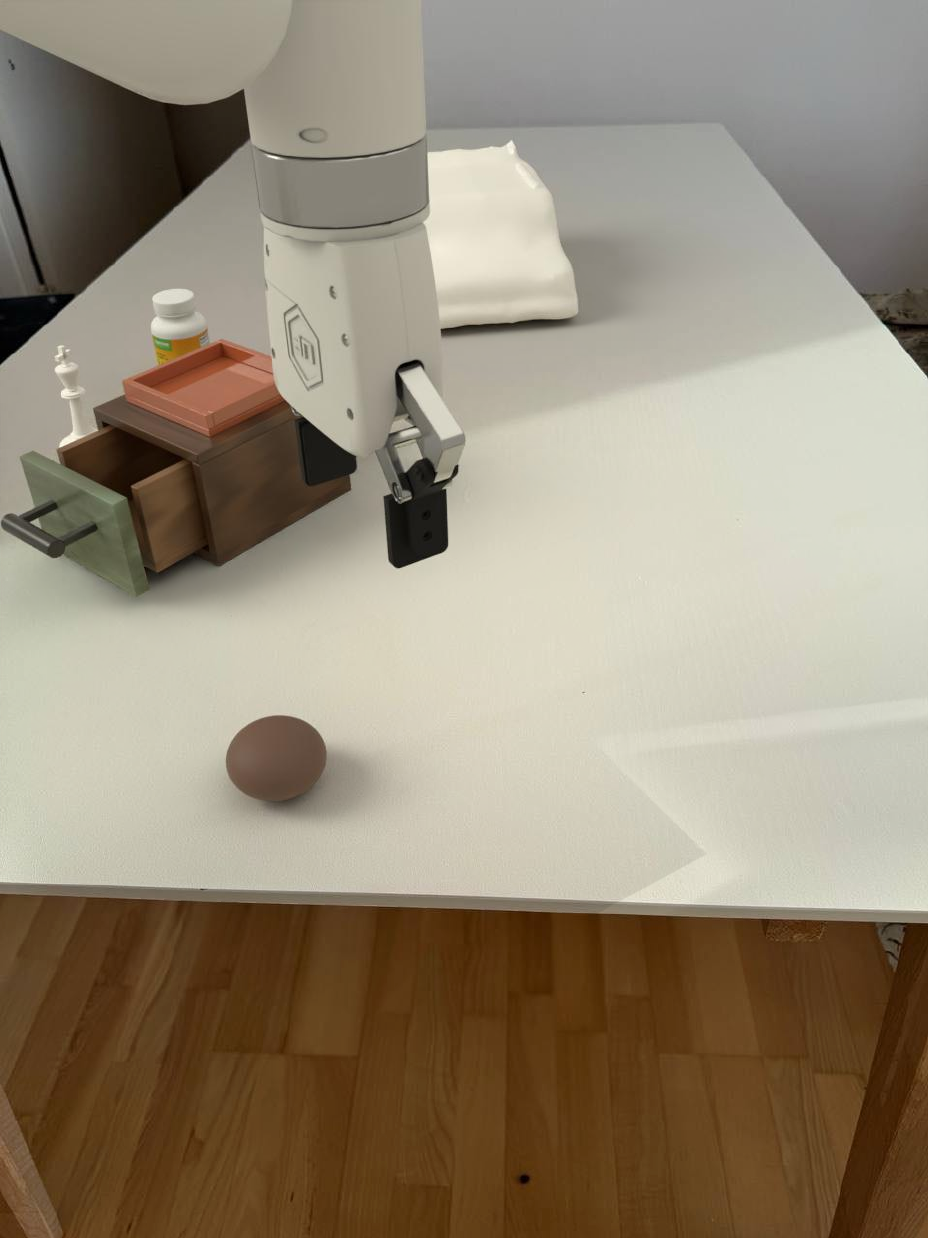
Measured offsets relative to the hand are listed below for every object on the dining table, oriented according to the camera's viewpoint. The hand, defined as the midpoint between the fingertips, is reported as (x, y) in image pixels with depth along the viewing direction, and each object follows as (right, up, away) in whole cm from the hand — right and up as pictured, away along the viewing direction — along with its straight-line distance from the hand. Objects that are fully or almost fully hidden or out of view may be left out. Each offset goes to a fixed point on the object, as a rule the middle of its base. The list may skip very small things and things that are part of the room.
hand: (372, 515), depth 58 cm
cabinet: (-14, +4, +35) cm, 38 cm away
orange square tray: (-15, +12, +29) cm, 35 cm away
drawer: (-21, +1, +28) cm, 35 cm away
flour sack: (+6, +35, +74) cm, 82 cm away
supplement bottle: (-23, +18, +53) cm, 60 cm away
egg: (-6, -16, +8) cm, 19 cm away
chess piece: (-30, +10, +43) cm, 54 cm away
